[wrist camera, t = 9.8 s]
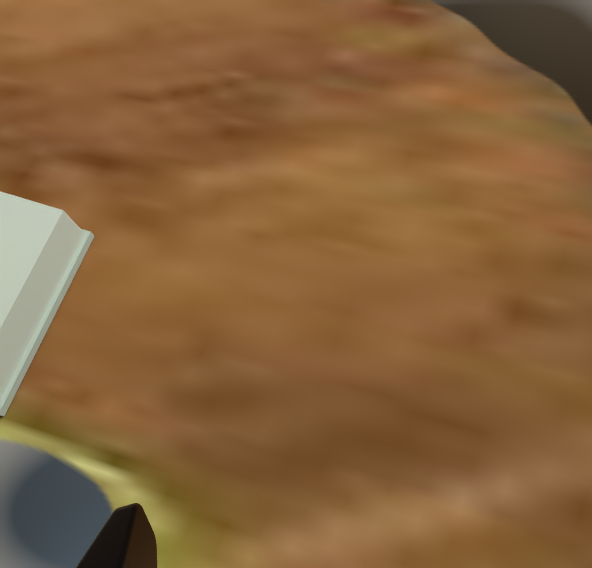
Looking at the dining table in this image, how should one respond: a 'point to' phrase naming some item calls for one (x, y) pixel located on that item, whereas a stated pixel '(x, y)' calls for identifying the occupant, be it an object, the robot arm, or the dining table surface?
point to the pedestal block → (32, 281)
